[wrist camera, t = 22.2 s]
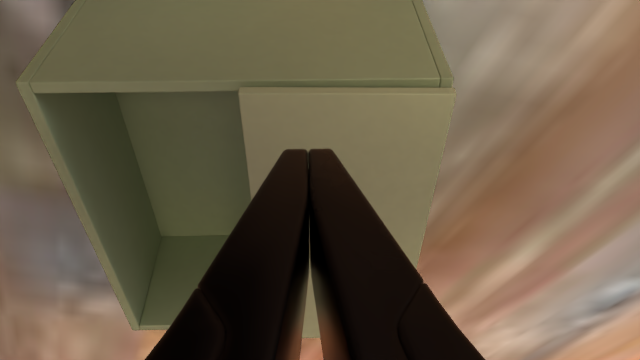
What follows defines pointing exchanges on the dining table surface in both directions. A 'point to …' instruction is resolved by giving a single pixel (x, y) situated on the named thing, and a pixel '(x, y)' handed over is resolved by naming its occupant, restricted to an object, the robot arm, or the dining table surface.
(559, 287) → the dining table surface
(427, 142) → the flap
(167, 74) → the carton
